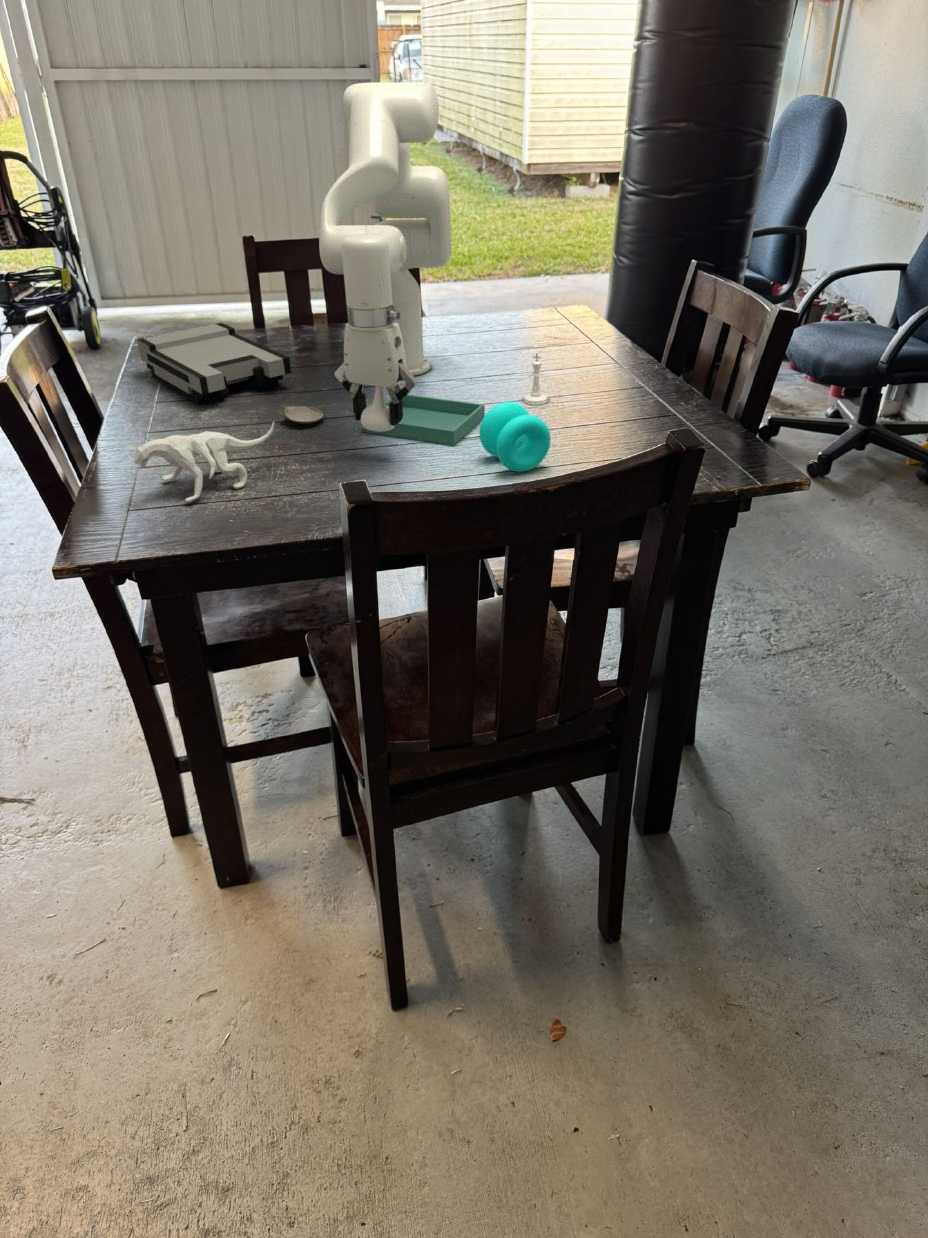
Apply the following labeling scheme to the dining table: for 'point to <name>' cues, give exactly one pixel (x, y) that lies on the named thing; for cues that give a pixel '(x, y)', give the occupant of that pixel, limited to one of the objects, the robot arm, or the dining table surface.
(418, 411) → the tray
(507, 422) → the turquoise yo-yo
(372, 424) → the garlic bulb
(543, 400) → the chess piece
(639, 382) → the dining table surface
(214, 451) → the white animal figurine
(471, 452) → the dining table surface
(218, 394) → the game console
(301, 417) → the seashell
